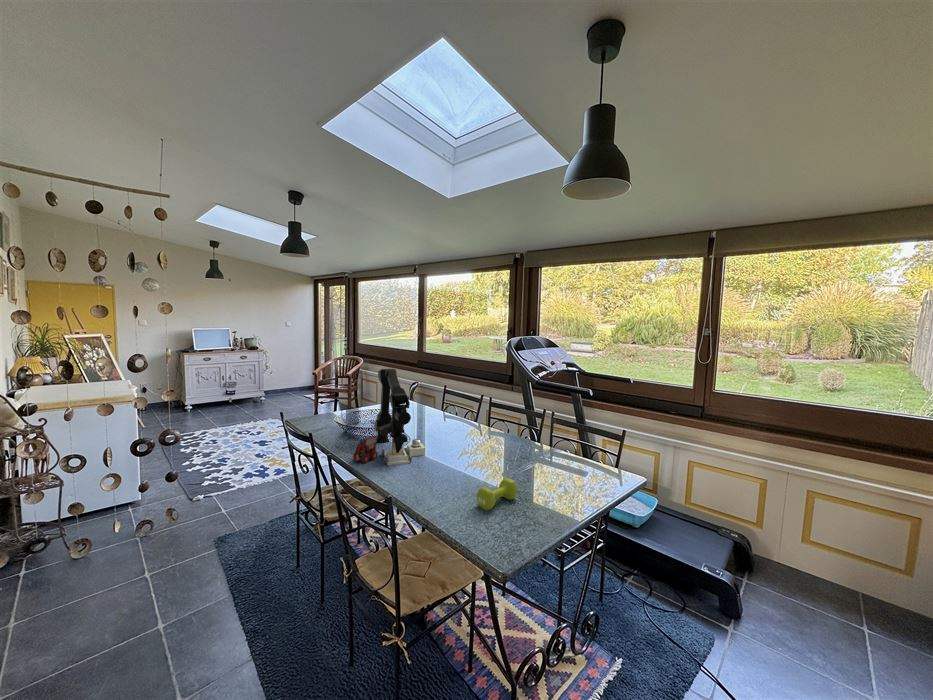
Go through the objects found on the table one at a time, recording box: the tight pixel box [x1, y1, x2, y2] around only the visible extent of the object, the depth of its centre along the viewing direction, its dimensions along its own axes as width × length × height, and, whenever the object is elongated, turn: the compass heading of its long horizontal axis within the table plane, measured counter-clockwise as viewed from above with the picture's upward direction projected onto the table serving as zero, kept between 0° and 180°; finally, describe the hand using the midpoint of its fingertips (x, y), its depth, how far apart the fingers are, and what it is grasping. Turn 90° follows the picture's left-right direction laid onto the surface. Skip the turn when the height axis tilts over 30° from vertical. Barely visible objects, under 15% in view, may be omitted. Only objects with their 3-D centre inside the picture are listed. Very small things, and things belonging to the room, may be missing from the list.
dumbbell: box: [475, 477, 519, 512], centre depth 131 cm, size 16×8×7 cm, turn 132°
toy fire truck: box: [352, 435, 379, 464], centre depth 164 cm, size 7×12×10 cm, turn 147°
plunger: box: [411, 438, 421, 448], centre depth 176 cm, size 4×4×4 cm
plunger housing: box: [406, 442, 426, 457], centre depth 176 cm, size 7×7×4 cm
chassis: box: [381, 447, 413, 466], centre depth 168 cm, size 14×12×3 cm
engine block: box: [391, 440, 403, 456], centre depth 167 cm, size 4×4×7 cm
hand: (396, 451), depth 167 cm, fingers closed on engine block, 4 cm apart
